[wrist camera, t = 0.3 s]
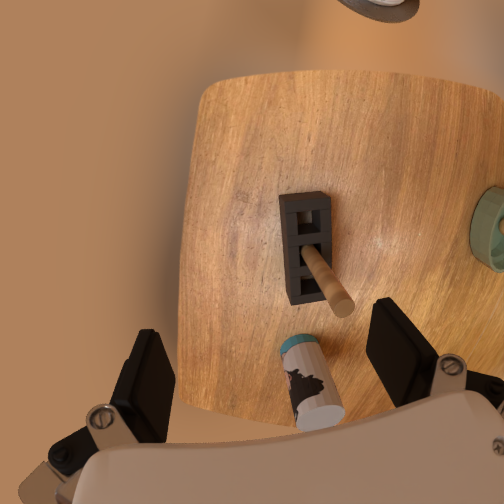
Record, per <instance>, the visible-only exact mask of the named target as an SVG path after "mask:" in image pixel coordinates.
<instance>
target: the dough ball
mask: <svg viewBox="0 0 504 504" xmlns="http://www.w3.org/2000/svg"><path fill="white" fill-rule="evenodd" d="M499 230H500V232H501V234H502V235H504V218H503V219H502V220H501V221H500V223H499Z"/></svg>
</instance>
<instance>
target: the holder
mask: <svg viewBox="0 0 504 504" xmlns="http://www.w3.org/2000/svg"><path fill="white" fill-rule="evenodd" d="M279 205H280V216H281V226H282V227H281V229H282V241H283V254H284V267H285V282H286V292H287V295H288V298H289V301H290V304H291V306H292V305H299V304H305V303H311V302H317V301H323V300H327V299H326V298H325V296H324V294H323V292H322V290H321V289H320V287H319V285H318V283H317V282H316V280H315V278H314V279H307V280H300V276H307V275H312V273H311V271H310V269H309V268H308V266H307V264H306V262H305V261H304V259H303V257H302V255H301V254H299V246H301V245H309V244H313V245H314V247H315V248H316V249H317V251H318V252H319V254H320V255H321V256H322V258H323V259H324V260H325V262H326V263H327V265H328V266H329V267H330V269H331V270H332V242H331V241H332V226H331V197H329V196H328V195H326V194H324V193H323V192H321V191H315V192H305V193H295V194H285V195H279ZM311 210H312V223H307V224H298V222H297V212H302V211H311Z"/></svg>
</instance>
